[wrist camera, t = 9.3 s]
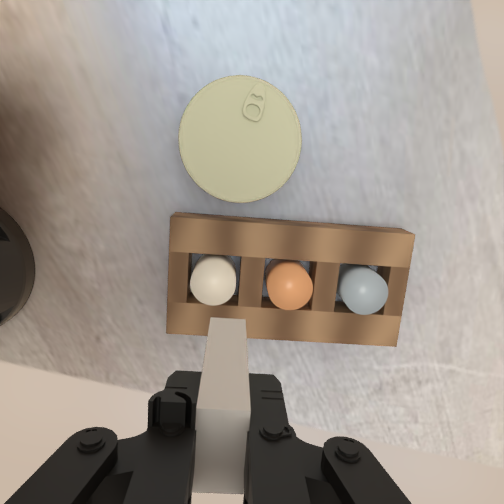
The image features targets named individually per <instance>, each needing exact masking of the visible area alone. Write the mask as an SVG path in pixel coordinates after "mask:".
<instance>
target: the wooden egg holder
mask: <svg viewBox="0 0 504 504" xmlns="http://www.w3.org/2000/svg"><path fill="white" fill-rule="evenodd" d="M414 239H415V234H413V233H410V232H408V231H406V230H404V229H400V228H387V227H373V226H359V225H346V224H332V223H318V222H305V221H291V220H278V219H264V218H250V217H237V216H223V215H209V214H196V213H182V212H175V213H174V214H173V215H172V216H171V217H170V240H169V269H168V297H167V325H166V333H167V334H185V335H202V336H208V331H209V325H210V318H211V317H214V318H231V319H245V320H246V337H247V338H254V339H272V340H289V341H307V342H324V343H342V344H359V345H376V346H394V347H396V345H397V339H398V333H399V328H400V322H401V316H402V310H403V304H404V298H405V292H406V286H407V280H408V275H409V269H410V263H411V257H412V251H413V245H414ZM192 253H200V254H214V255H229V256H241V261H240V274H239V288H238V295H232V297H231V298H230V299H229V300H228V301H227V302H225V303H223V304H220V305H215V306H212V305H206V304H204V303H202V302H200V301H199V300H197V299H196V298H195V296H194V295H193V293H192V292H190V280H191V265H192ZM265 258H273V259H288V260H303V261H310V267H309V277H310V278H311V281H312V284H313V292H312V295H311V298H310V299H309V301H308V302H307V303H306V304H305V305H304V306H302V307H301V308H298V309H295V310H284V309H281V308H279V307H277V306H276V305H275V304H273V302H272V301H271V299H270V297H262V288H263V277H264V265H265ZM340 263H347V264H361V265H376V266H378V270H377V274H378V275H380V276H381V277H382V278H383V279H384V280H385V282H386V284H387V286H388V298H387V300H386V302H385V304H384V306H383V307H382V308H381V309H380V310H378V311H377V312H375V313H372V314H369V315H360V314H357V313H354V312H353V311H351V310H350V309H349V308H348V306H347V305H346V304H345V302H342V301H335V298H336V290H337V283H338V275H339V267H340Z"/></svg>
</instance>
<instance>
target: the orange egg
mask: <svg viewBox="0 0 504 504" xmlns="http://www.w3.org/2000/svg"><path fill="white" fill-rule="evenodd" d="M265 282H266V286H267V290H268V295H269V297H270V299H271V301H272V302H273V304H275V305H276V306H277V307H279V308H281V309H284V310H295V309H298V308H301V307H302V306H304V305H305V304H306V303H307V302H308V301H309V299H310V298H311V295H312V292H313V284H312V281H311V278H310V277H309V275H308V273H307V272H306V270H305V268H304V267H303V265H302V264H301V263H300V261H298V260H288V259H274V260H272V261H271V262H270V263H269V264H268V266H267V268H266V270H265Z"/></svg>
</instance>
